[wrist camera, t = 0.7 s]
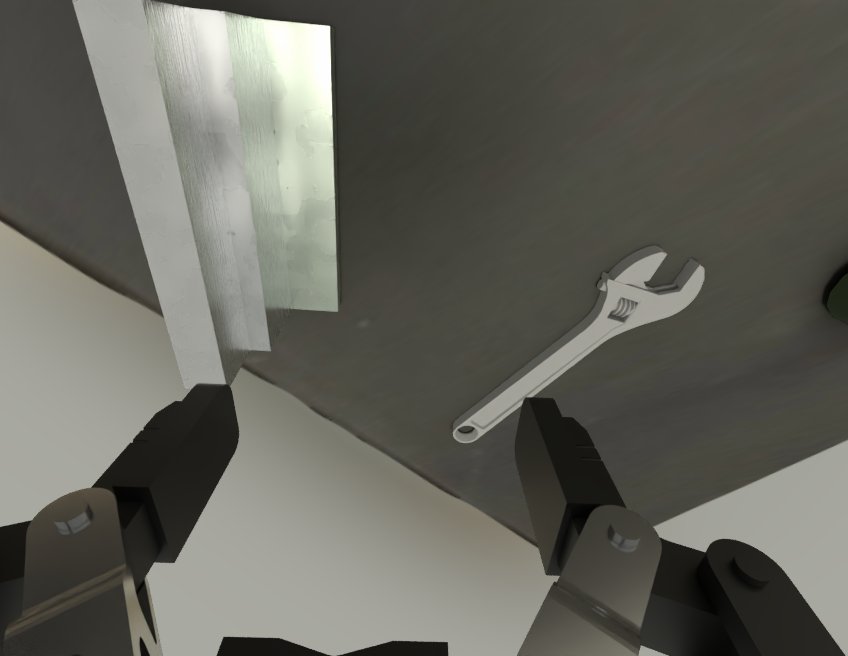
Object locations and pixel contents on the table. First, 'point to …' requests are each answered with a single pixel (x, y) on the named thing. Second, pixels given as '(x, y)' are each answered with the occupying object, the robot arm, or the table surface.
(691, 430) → the table surface
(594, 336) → the adjustable wrench
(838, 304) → the trophy cup
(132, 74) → the stand
